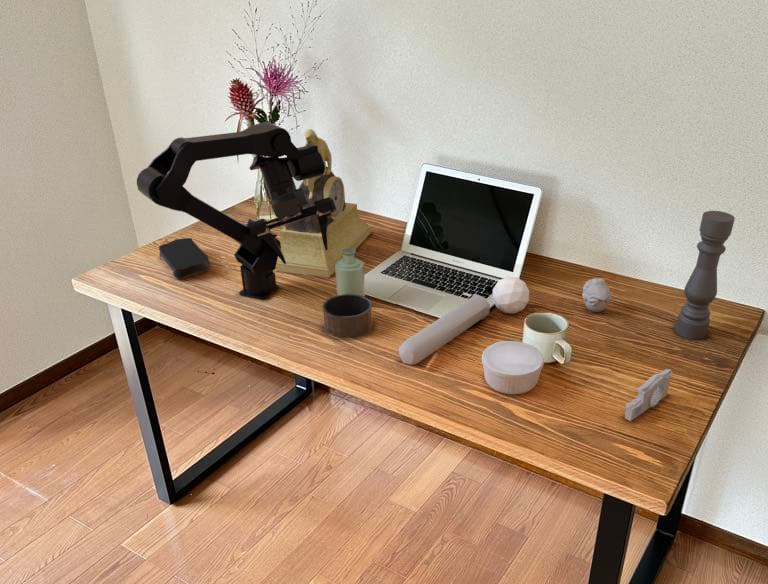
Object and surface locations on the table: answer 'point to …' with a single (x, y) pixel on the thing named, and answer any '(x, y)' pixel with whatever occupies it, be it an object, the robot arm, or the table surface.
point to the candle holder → (704, 275)
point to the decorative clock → (305, 235)
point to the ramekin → (512, 366)
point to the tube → (444, 330)
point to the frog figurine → (596, 294)
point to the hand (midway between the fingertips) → (306, 257)
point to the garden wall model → (649, 394)
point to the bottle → (350, 274)
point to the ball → (510, 295)
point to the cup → (347, 315)
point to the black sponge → (184, 258)
